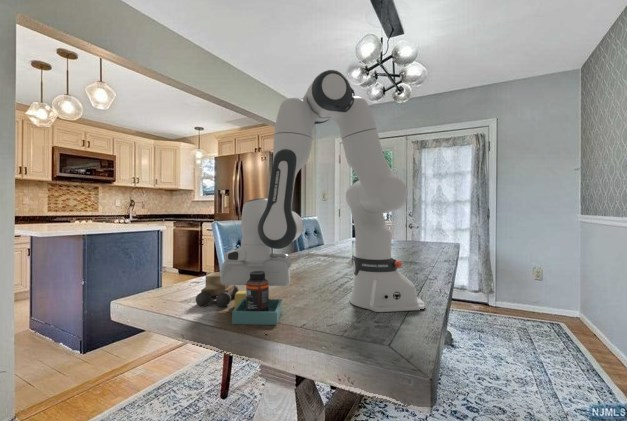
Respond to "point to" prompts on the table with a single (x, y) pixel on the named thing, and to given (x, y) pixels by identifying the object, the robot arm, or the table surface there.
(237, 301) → the yellow cube
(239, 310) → the tray
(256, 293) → the supplement bottle
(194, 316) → the table surface
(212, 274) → the trolley
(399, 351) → the table surface
